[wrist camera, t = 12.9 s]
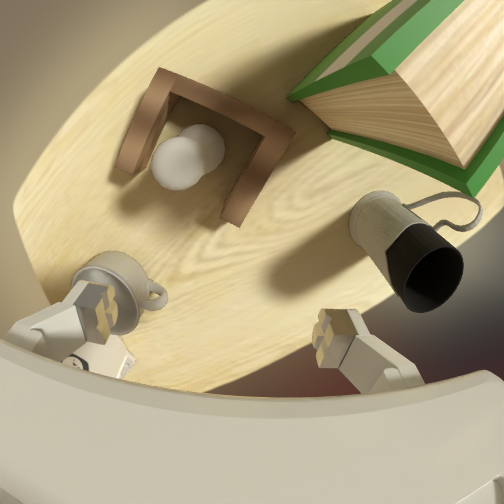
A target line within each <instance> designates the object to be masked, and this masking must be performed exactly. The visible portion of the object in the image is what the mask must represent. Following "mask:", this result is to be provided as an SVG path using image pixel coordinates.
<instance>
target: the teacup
mask: <svg viewBox="0 0 504 504" xmlns="http://www.w3.org/2000/svg"><path fill="white" fill-rule="evenodd" d="M80 280H84V281H89V282H95V283H100V284H105V285H111V286H113V287H114V290H115V296H114V298H113V300H114V301H115V302H116V303H117V307H118V316H117V321H116V323H115V325H114V327H112V328H110V329H109V330H110V334H111V335H124V334H128V333H130V332H131V331H133V330H134V329H135V328H136V326H137V325H138V322H139V318H140V317H141V315H142V313H143V311H144V309H146V310H149V311H156V310H160V309H162V308H163V307H164V306H165V305H166V304H167V302H168V294H167V291H166V290H165V288H163V287H162V286H161V285H159V284H157V283H154V282H153V280H151V279H148V277H147V274H146V272H145V271H144V269H143V268H142V266H141V265H140V264H139V263H138V262H137V261H136V260H135V259H134V258H132V257H131V256H129V255H127V254H125V253H123V252H118V251H107V252H103V253H101V254H99V255H97V256H96V257H94V258H93V259H92V260H91V261H89V262H88V263H87V264H86V265H85V266H84V267H83V268H81V269H80V270H78V271H77V272H76V274H75V275H74V277H73V279H72V283H71V290H72V288H73V287H74V286H75V285H76V283H77V282H78V281H80ZM150 291H151V292H154V293H156V294H158V295H159V296H160V297H158V298H157V299H154V300H148V299H149V295H150Z"/></svg>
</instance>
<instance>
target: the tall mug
mask: <svg viewBox="0 0 504 504" xmlns="http://www.w3.org/2000/svg"><path fill="white" fill-rule="evenodd" d="M448 197H460V198H465V199H468V200H470V201H472V202H474V203H476V204H477V205H478V206H479V212H478V214H477V216H476V218H475V219H474V220H473V221H472V222H471V223H469V224H467V225H462V226H459V225H455V224H453V223H451V222H449V221H447V220H441V221H439V222H438V223H436V224H435V225H434V227H432V226H430V225H429V224H428V223H427V222H425V221H424V220H423V219H421V218H420V217H419V216H417V215H416V214H415V213H413V212H412V211H411V210H410V209H413V208H416V207H419V206H422V205H424V204H427V203H429V202H432V201H435V200H438V199H442V198H448ZM482 213H483V209H482V207H481V204H480V202H479V201H478V200H477V199H476V198H474V199H473V198H472V197H470V196H468V195H466V194H464V193H462V192H441V193H438V194H435V195H433V196H430V197H427V198H424V199H422V200H420V201H417V202H414V203H412V204H408V205H406V204H404V203H403V205H402V203H401V201H400V200H399V199H398V198H397V197H396V196H395V195H394V194H392V193H390V192H387V191H374V192H371V193H369V194H367V195H365V196H364V197H362V198H361V199H360V200H359V201H358V202H357V203H356V205H355V206H354V208H353V210H352V212H351V215H350V219H349V231H350V234H351V237H352V239H353V240H354V241H355V243H356V244H357V245H359V246H360V247H362V248H364V249H365V251H366V252H367V254H368V255H369V256H370V258H371V259H372V260H373V262H374V263H375V265H376V266H377V267H378V269H379V270H380V272H381V273H382V274H383V276H384V277H385V279H386V280H387V282H388V283H389V285H390V286H391V287H392V289H393V290H394V292H395V293H396V295H397V296H398V297H399V296H400V298H401V299H402V300H403V302H404V304H405V305H406V306H407V308H408V309H409V310H411V311H413V312H416V313H424V312H429V311H432V310H434V309H436V308H438V307H439V306H441V305H442V304H443V303H445V301H447V300H448V299H449V298H450V297H451V296H452V294H453V293H454V292H455V290H456V289H457V287H458V285H459V283H460V281H461V278H462V275H463V268H464V263H463V258H462V255H461V253H460V252H459V251H458V250H457V249H456V248H455V247H454V246H452V245H451V244H450V243H449V242H448V241H446V240H445V239H444V238H443V237H442V236H440V235H439V234H438V233H437V231H438V230H439V229H440V228H441V227H442V226H444V225H447V226H449V227H451V228H452V229H454V230H456V231H460V232H465V231H469V230H471V229H473V228H474V227H476V226H477V225H478V223H479V222H480V220H481V218H482Z"/></svg>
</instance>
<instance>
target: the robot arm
mask: <svg viewBox="0 0 504 504" xmlns="http://www.w3.org/2000/svg"><path fill="white" fill-rule="evenodd" d="M114 296H115V290H114V287H113V286H111V285H105V284H100V283H95V282H89V281H84V280H80V281H78V282H77V283H76V285H75V286H74V287H73V288H72V290H71V291H70V292H69V294H68V295H67V296H66V297H65V299H64V300H63V301H62V302H57V303H55V304H53V305H51V306H49V307H47V308H44V309H42V310H40V311H38V312H36V313H34V314H32V315H30V316H28V317H26V318H23V319H21V320H19V321H17V322H16V323H15V324H14V325H13V327H12V328H11V329H10V331H9V332H8V333H7V335H6V336H5V338H4V339H3V340H2V339H0V504H504V381H503V380H502V379H500V378H498V377H497V376H496V375H494V374H493V373H491V372H489V371H487V370H481V371H477V372H474V373H471V374H467V375H463V376H459V377H456V378H452V379H447V380H443V381H439V382H434V383H430V384H425V383H424V381H423V379H422V378H421V376H420V374H419V372H418V370H417V368H416V366H415V364H413V363H412V362H410V361H409V360H408V359H406V358H405V357H403V356H402V355H401V354H399V353H398V352H396V351H395V350H393V349H392V348H391V347H389V346H388V345H387V344H385V343H384V342H382V341H381V340H379V339H378V338H377V337H375V336H374V335H370V333H369V331H368V329H367V327H366V325H365V323H364V321H363V319H362V317H361V315H360V313H359V312H358V310H356V309H323V308H322V309H321V310H320V312H319V314H318V318H319V322H318V323H316V324H315V326H314V329H313V333H312V343H313V347H314V348H315V349H316V350H317V354H316V358H317V362H318V366H319V368H339V370H340V371H341V372H342V373H343V374H344V375H345V376H346V377H347V378H348V379H349V380H350V381H351V383H352V384H353V385H354V386H355V387H356V388H357V389H358V390H359V391H360V392H361V393H362V394H357V395H345V396H331V397H308V398H264V397H243V396H228V395H217V394H206V393H198V392H190V391H182V390H175V389H169V388H163V387H157V386H151V385H146V384H141V383H136V382H131V381H126V380H122V378H123V377H124V376H125V375H126V374H127V373H128V372H129V370H130V369H131V368H132V367H133V366H134V365H135V363H136V359H135V358H134V356H133V355H132V354H131V353H129V352H128V351H127V349H126V348H125V346H124V344H123V342H122V340H121V339H120V337H119V336H118V335H111V334H110V330H109V329H110V328H112V327H114V325H115V323H116V321H117V316H118V307H117V303H116V302H115V301H114V300H113V298H114Z"/></svg>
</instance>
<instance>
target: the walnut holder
mask: <svg viewBox="0 0 504 504" xmlns="http://www.w3.org/2000/svg"><path fill="white" fill-rule="evenodd" d="M179 95H180V96H182V97H185V98H187V99H189V100H192V101H194V102H196V103H198V104H201V105H203V106H205V107H207V108H209V109H212V110H214V111H216V112H218V113H220V114H222V115H224V116H226V117H228V118H230V119H232V120H234V121H236V122H238V123H240V124H242V125H244V126H246V127H248V128H250V129H252V130H254V131H256V132H258V133H259V134H261V135H263V136H262V138H261V140H260V141H259V143H258V145H257V147H256V148H255V150H254V152H253V153H252V155H251V157H250V159H249V160H248V162H247V164H246V166H245V168H244V169H243V171H242V173H241V175H240V176H239V178H238V180H237V182H236V184H235V185H234V187H233V189H232V191H231V193H230V195H229V196H228V198H227V200H226V202H225V204H224V206H223V209H222V213H221V216H220V218H221V219H223V220H225V221H227V222H229V223H231V224H233V225H235V226H237V227H239V228H240V226H241V224H242V223H243V221H244V219H245V217H246V216H247V214H248V212H249V210H250V209H251V207H252V205H253V204H254V202H255V200H256V199H257V197H258V195H259V193H260V192H261V190H262V188H263V187H264V185H265V183H266V182H267V180H268V178H269V176H270V175H271V173H272V171H273V170H274V168H275V166H276V165H277V163H278V161H279V160H280V158H281V156H282V155H283V153H284V151H285V150H286V148H287V146H288V145H289V143H290V142H291V140H292V138H293V137H294V135H295V133H296V132H295V131H293V130H292V129H290V128H288V127H287V126H285V125H283V124H281V123H280V122H278V121H276V120H274V119H272V118H271V117H269V116H267V115H265V114H263V113H261V112H259V111H257V110H256V109H254V108H252V107H250V106H248V105H246V104H244V103H242V102H240V101H238V100H236V99H234V98H232V97H229V96H227V95H225V94H223V93H221V92H219V91H217V90H214V89H212V88H210V87H208V86H205V85H203V84H201V83H198V82H196V81H194V80H191V79H189V78H186V77H184V76H181V75H179V74H176V73H174V72H171V71H169V70H166V69H163V68H160V67H159V68H158V70H157V72H156V73H155V75H154V77H153V79H152V81H151V83H150V85H149V87H148V89H147V91H146V93H145V95H144V97H143V99H142V101H141V104H140V106H139V108H138V110H137V112H136V115H135V117H134V119H133V121H132V124H131V126H130V128H129V131H128V133H127V136H126V138H125V141H124V143H123V146H122V148H121V151H120V154H119V156H118V159H117V162H116V165H115V168H118V169H120V170H122V171H124V172H126V173H128V174H130V175H134V174H135V173H137V172H139V171H141V170H142V169H144V168H146V166H147V164H148V161H149V159H150V157H151V154H152V152H153V150H154V147H155V145H156V143H157V141H158V138H159V136H160V134H161V132H162V130H163V128H164V125H165V123H166V121H167V119H168V117H169V115H170V113H171V111H172V109H173V107H174V105H175V103H176V101H177V99H178V97H179Z"/></svg>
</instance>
